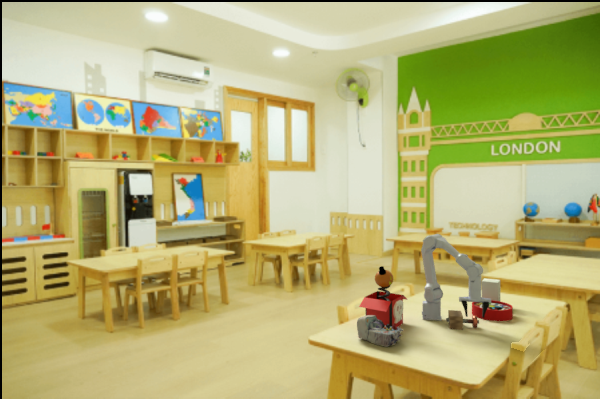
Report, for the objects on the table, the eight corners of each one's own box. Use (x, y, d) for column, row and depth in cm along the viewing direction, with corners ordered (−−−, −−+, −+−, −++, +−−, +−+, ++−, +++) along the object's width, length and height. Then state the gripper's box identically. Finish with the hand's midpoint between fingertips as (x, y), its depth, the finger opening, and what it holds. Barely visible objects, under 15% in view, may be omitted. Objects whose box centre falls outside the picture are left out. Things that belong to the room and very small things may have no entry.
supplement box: (500, 305, 251) (501, 279, 251) (498, 309, 244) (498, 282, 243) (484, 302, 256) (484, 277, 256) (481, 306, 249) (481, 280, 248)
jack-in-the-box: (388, 334, 204) (388, 271, 203) (359, 328, 213) (358, 268, 212) (409, 320, 225) (409, 263, 224) (382, 315, 234) (382, 260, 233)
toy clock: (468, 299, 244) (507, 300, 240) (468, 309, 244) (507, 311, 240) (475, 309, 224) (517, 311, 220) (475, 320, 225) (517, 322, 220)
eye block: (449, 329, 211) (449, 315, 211) (448, 322, 221) (448, 310, 221) (463, 330, 210) (463, 316, 209) (460, 323, 219) (460, 310, 219)
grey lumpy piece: (365, 310, 207) (405, 318, 195) (365, 332, 207) (405, 342, 196) (352, 317, 196) (394, 326, 185) (352, 340, 197) (394, 351, 185)
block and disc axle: (446, 327, 214) (446, 315, 213) (445, 323, 219) (445, 312, 219) (479, 329, 210) (479, 317, 209) (478, 325, 215) (478, 314, 215)
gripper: (460, 290, 210) (460, 318, 211) (492, 291, 206) (492, 320, 207) (458, 287, 217) (458, 313, 217) (489, 288, 213) (489, 315, 214)
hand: (474, 316), depth 213 cm, fingers open, 7 cm apart
